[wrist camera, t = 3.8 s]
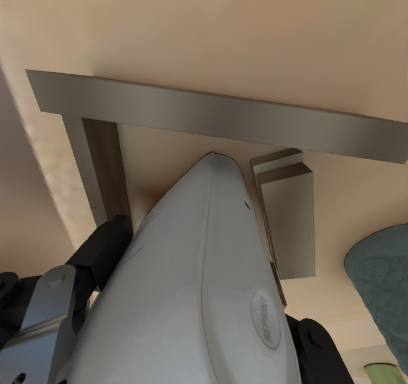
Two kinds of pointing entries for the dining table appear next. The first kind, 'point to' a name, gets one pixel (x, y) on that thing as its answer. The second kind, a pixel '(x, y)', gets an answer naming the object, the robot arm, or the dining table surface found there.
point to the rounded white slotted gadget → (190, 295)
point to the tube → (384, 374)
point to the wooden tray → (195, 128)
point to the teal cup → (384, 284)
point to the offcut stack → (287, 211)
